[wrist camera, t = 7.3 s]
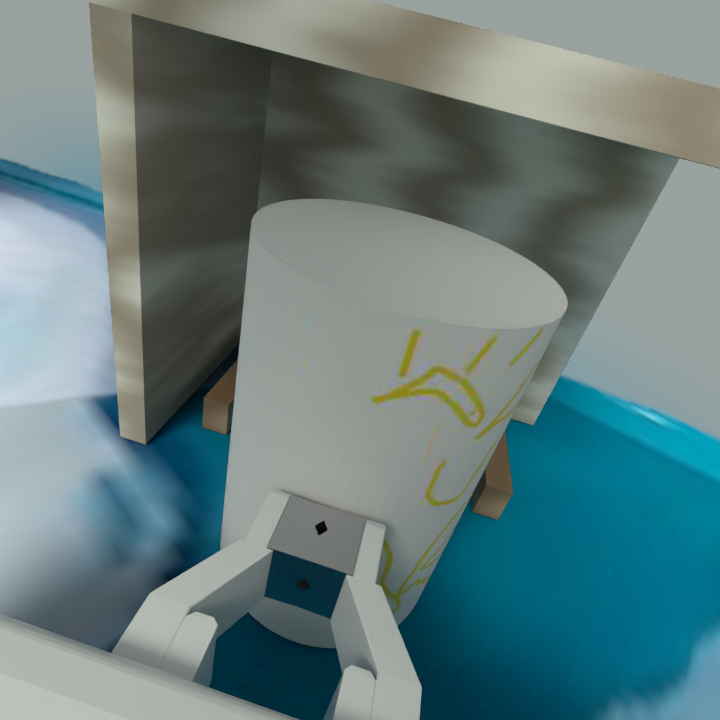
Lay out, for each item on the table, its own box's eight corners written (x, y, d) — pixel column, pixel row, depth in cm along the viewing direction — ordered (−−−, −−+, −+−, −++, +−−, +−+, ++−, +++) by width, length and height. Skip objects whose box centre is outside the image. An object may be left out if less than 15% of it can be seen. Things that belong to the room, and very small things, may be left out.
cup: (316, 709, 13) (448, 371, 7) (178, 517, 17) (185, 199, 11) (465, 557, 19) (612, 293, 13) (334, 439, 23) (395, 198, 17)
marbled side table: (120, 436, 20) (83, -73, 11) (236, 323, 30) (264, 10, 22) (566, 578, 19) (908, 136, 10) (529, 411, 29) (685, 119, 20)
